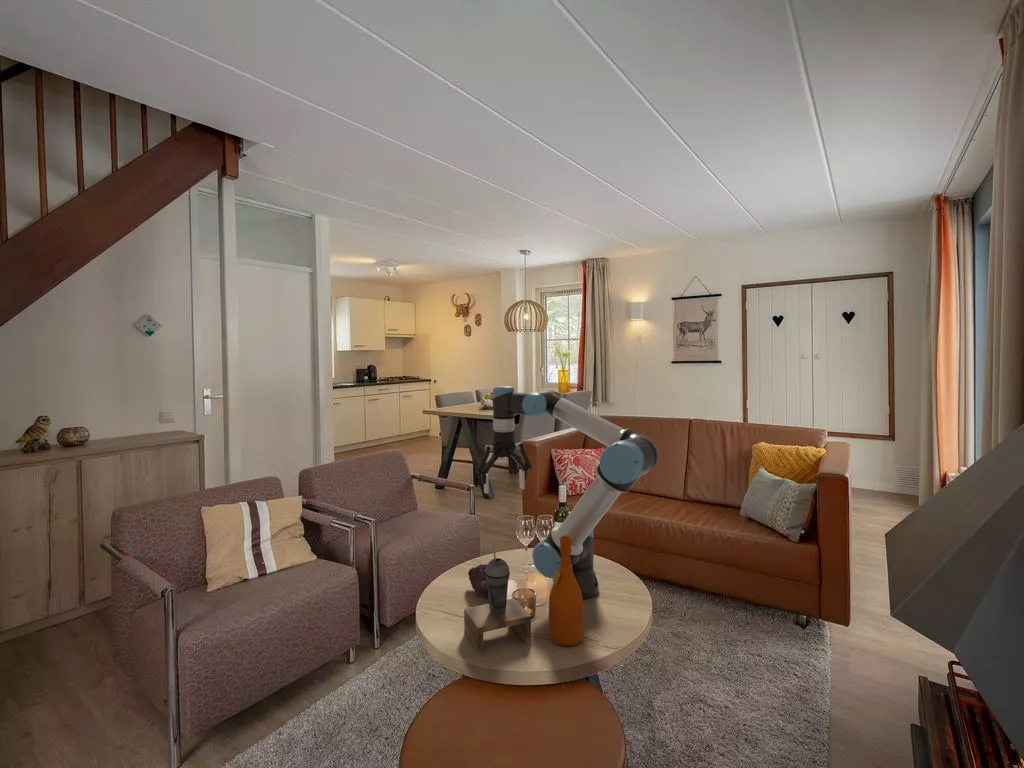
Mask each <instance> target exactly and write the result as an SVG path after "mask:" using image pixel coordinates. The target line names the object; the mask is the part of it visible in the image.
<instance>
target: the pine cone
mask: <svg viewBox="0 0 1024 768" xmlns="http://www.w3.org/2000/svg"><path fill="white" fill-rule="evenodd" d="M486 567H487V564H486V563H485V564H480V563H479V565H478V566H475V567H474V566H473V567H471V568H470V569H469V570H468V573H467V574H468V575H467V576H468V580H469V582H470V585H471V588H472V589H473V591H474V593H476V594H478V596H482V597H488V588H487V581H486V575H485V571H486Z"/></svg>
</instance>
